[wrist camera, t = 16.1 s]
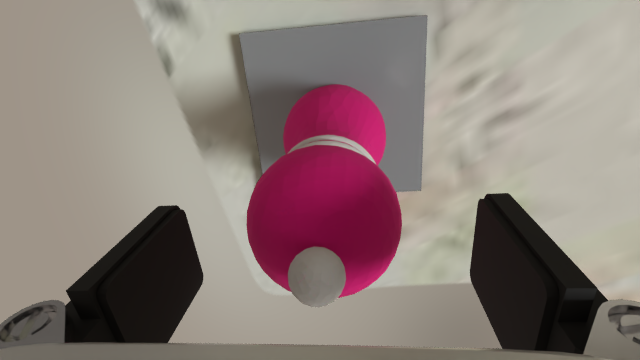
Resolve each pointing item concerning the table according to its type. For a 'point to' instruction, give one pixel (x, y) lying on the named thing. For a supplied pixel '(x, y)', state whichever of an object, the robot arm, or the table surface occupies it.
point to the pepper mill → (326, 200)
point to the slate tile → (343, 82)
